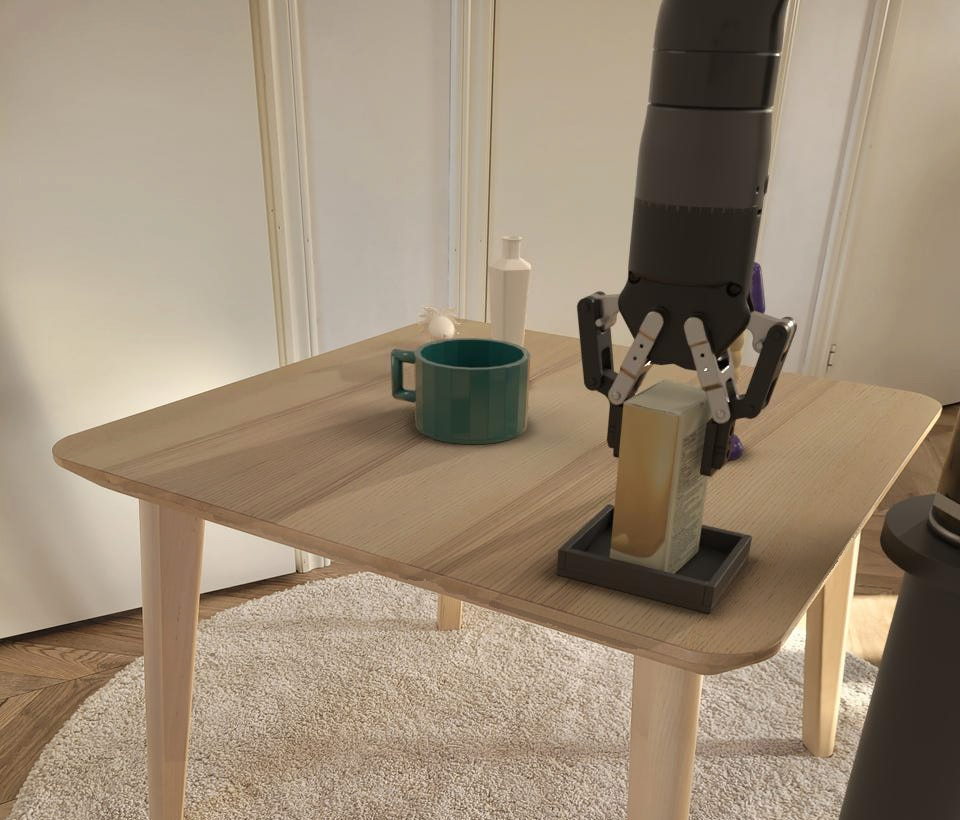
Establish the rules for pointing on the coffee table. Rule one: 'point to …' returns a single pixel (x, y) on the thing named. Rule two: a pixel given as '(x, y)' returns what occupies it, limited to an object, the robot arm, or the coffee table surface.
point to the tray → (686, 588)
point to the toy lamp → (737, 345)
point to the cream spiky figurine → (439, 323)
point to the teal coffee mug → (466, 389)
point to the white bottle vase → (509, 293)
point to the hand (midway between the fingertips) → (665, 462)
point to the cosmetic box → (661, 477)
